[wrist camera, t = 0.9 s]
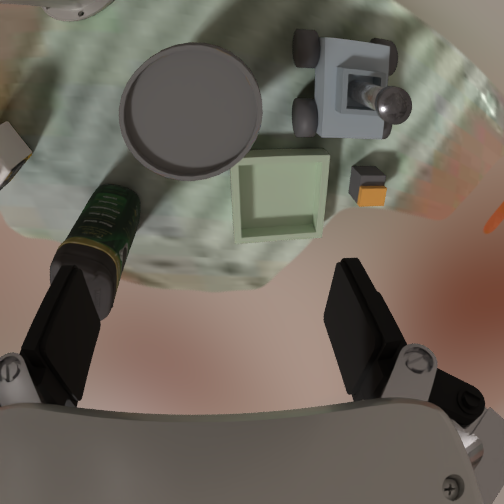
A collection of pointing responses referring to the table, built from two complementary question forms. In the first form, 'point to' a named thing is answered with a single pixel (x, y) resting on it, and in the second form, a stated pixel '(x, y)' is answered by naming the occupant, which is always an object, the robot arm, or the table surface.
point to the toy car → (340, 85)
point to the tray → (279, 194)
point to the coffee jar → (101, 243)
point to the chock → (367, 186)
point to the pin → (382, 100)
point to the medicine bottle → (11, 153)
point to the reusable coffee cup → (191, 111)
